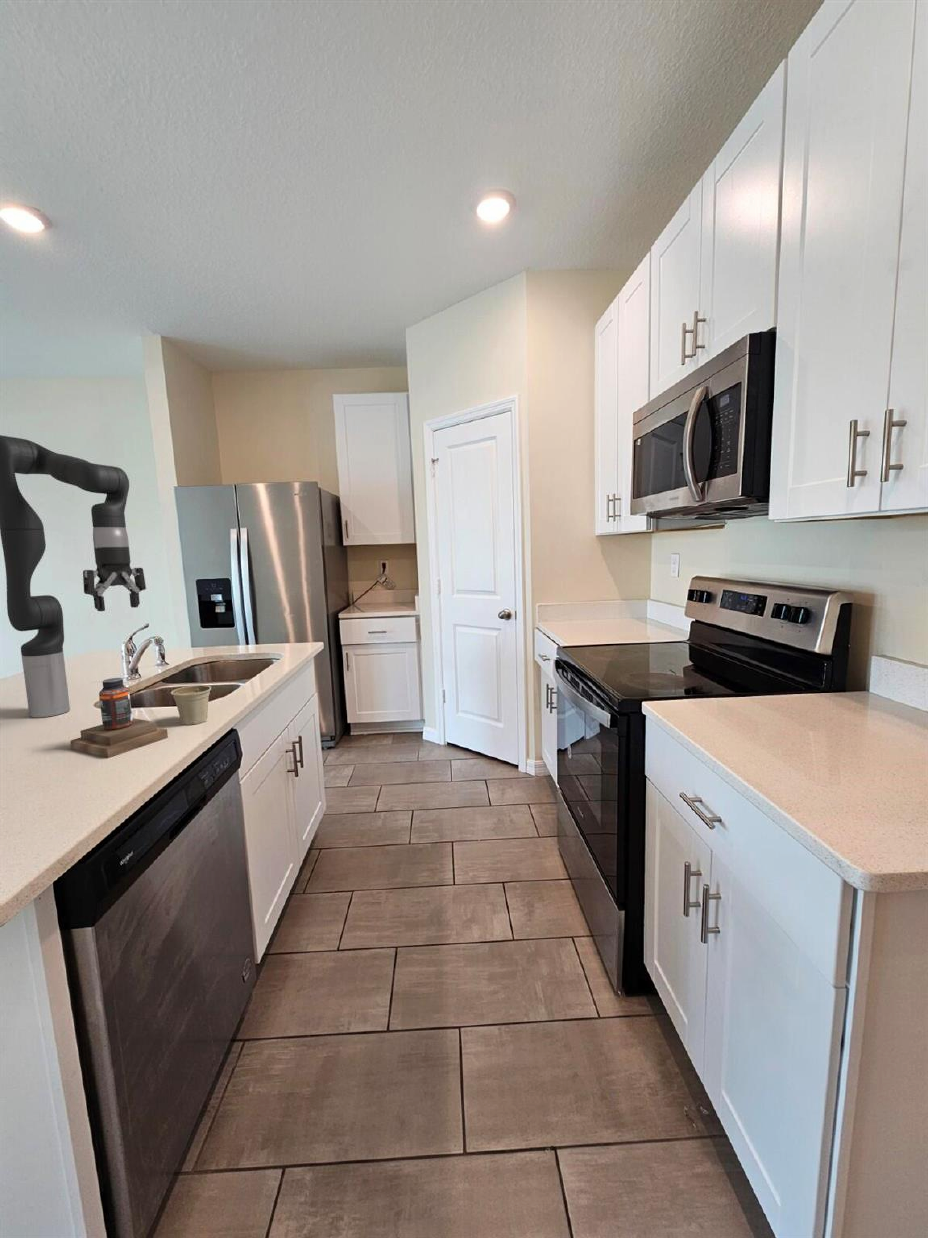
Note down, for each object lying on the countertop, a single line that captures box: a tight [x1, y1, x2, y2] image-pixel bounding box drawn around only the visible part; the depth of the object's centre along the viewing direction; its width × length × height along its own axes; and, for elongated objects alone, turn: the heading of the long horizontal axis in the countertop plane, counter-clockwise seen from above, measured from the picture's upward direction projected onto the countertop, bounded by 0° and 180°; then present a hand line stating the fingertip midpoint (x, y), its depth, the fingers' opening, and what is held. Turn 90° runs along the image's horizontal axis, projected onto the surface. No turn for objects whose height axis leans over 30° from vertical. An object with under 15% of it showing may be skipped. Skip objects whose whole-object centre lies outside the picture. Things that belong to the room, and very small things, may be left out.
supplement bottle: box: [98, 677, 133, 730], centre depth 126 cm, size 6×6×11 cm
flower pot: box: [170, 684, 212, 726], centre depth 142 cm, size 9×9×9 cm
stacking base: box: [70, 717, 169, 759], centre depth 127 cm, size 14×14×4 cm
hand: (118, 609), depth 139 cm, fingers open, 8 cm apart
